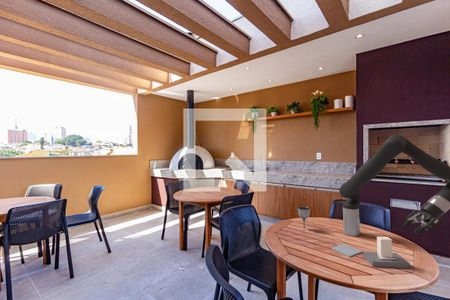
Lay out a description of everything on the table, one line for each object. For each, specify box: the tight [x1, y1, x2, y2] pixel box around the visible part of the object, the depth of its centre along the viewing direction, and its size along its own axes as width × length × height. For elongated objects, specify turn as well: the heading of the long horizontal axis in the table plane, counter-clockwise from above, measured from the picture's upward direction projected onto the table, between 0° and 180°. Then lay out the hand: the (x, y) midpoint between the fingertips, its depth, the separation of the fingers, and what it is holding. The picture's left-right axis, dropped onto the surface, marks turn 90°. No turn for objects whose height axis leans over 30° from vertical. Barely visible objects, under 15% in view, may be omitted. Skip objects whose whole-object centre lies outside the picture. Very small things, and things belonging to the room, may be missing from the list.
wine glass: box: [297, 206, 311, 228], centre depth 157 cm, size 8×8×15 cm
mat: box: [330, 243, 364, 258], centre depth 122 cm, size 11×11×1 cm
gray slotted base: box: [362, 251, 411, 269], centre depth 109 cm, size 16×10×3 cm, turn 81°
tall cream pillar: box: [376, 236, 393, 258], centre depth 109 cm, size 5×4×12 cm
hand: (410, 230), depth 107 cm, fingers open, 8 cm apart
